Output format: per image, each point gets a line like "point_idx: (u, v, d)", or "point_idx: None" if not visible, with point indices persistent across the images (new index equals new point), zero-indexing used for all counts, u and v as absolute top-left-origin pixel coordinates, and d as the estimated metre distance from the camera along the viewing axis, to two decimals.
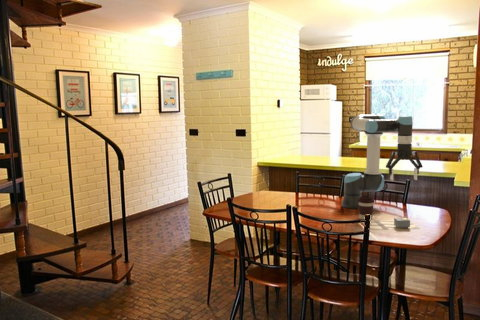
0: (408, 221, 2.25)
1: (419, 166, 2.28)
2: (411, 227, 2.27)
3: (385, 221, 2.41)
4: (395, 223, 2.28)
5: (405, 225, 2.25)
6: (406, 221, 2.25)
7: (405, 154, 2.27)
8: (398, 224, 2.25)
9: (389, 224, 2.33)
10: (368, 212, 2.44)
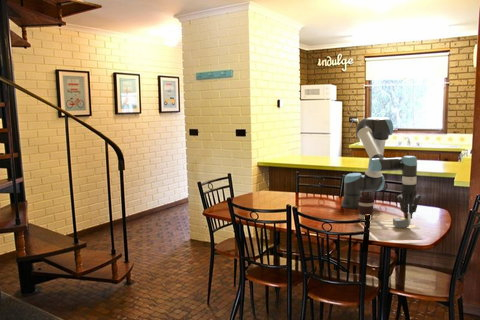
0: (407, 221, 2.24)
1: None
2: (411, 227, 2.27)
3: (385, 221, 2.41)
4: (394, 223, 2.28)
5: (404, 225, 2.25)
6: (405, 221, 2.24)
7: (410, 193, 2.24)
8: (397, 224, 2.24)
9: (389, 224, 2.33)
10: (368, 212, 2.44)
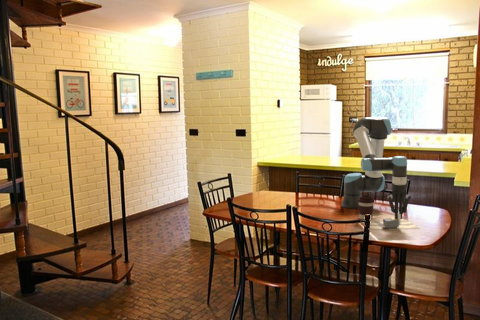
0: (397, 221, 2.24)
1: None
2: (411, 227, 2.27)
3: None
4: (384, 224, 2.27)
5: (394, 225, 2.25)
6: (395, 221, 2.24)
7: (400, 194, 2.24)
8: (387, 224, 2.24)
9: None
10: (368, 212, 2.44)
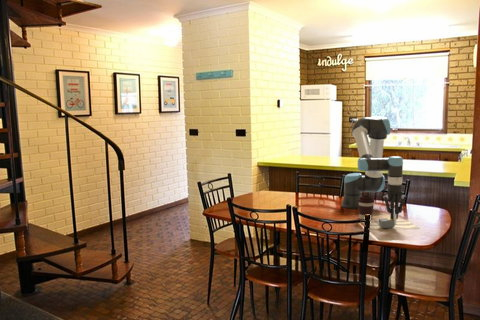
0: (392, 221, 2.24)
1: (398, 211, 2.25)
2: (411, 227, 2.27)
3: None
4: (380, 224, 2.27)
5: (390, 225, 2.24)
6: (390, 221, 2.24)
7: (396, 194, 2.24)
8: (383, 224, 2.24)
9: None
10: (368, 212, 2.44)
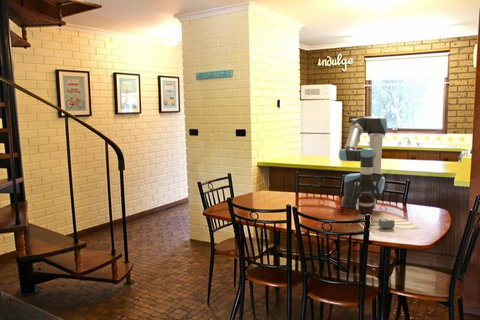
0: (392, 221, 2.24)
1: (377, 196, 2.46)
2: (411, 227, 2.27)
3: None
4: (380, 223, 2.28)
5: (389, 225, 2.25)
6: (390, 221, 2.24)
7: (367, 183, 2.44)
8: (383, 224, 2.24)
9: None
10: (368, 212, 2.44)
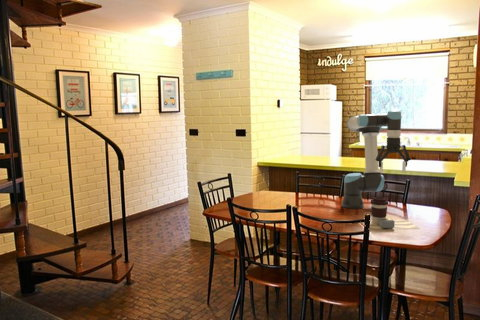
0: (392, 221, 2.24)
1: (407, 159, 2.38)
2: (411, 227, 2.27)
3: None
4: (380, 223, 2.28)
5: (389, 225, 2.25)
6: (390, 221, 2.24)
7: (394, 147, 2.36)
8: (383, 224, 2.24)
9: None
10: (382, 214, 2.32)
